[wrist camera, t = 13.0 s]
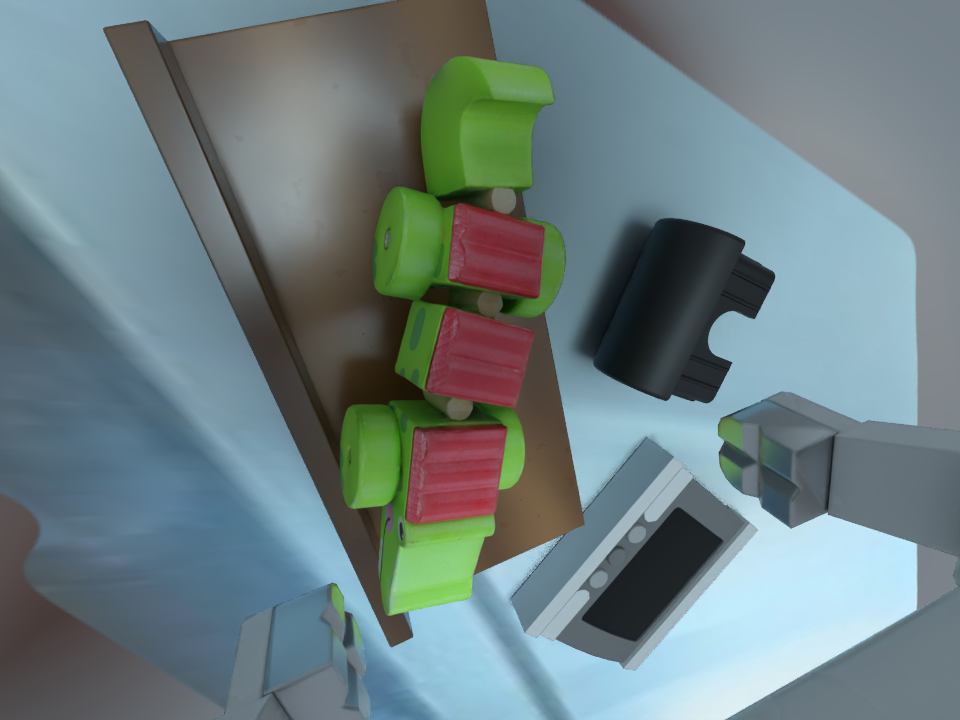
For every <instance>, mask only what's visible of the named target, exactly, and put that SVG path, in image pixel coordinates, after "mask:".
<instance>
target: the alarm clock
mask: <svg viewBox="0 0 960 720" xmlns="http://www.w3.org/2000/svg"><path fill="white" fill-rule="evenodd" d="M683 466H684V465H683V464H682V463H681V462H680V461H678V460H677V459H676V458H675V457H674V456H672V455H671V454H669V453H668V452H667V451H665V450H664V449H662V448H661V447H660V446H658V445H657V444H656V443H654V442H653V441H651V440H650V439H649V438H646V439H645V440H644V442H643V443H642V444H641V445H640V446H639V448H638V449H637V450H636V451H635V452H634V453H633V455H632V456H631V457H630V458H629V459H628V461H627V462H626V463H625V464H624V465H623V467H622V468H621V469H620V470H619V471H618V472H617V474H616V475H615V476H614V477H613V478H612V480H611V481H610V482H609V483H608V484H607V486H606V487H605V488H604V489H603V490H602V491H601V493H600V494H599V495H598V496H597V497H596V499H595V500H594V501H593V502H592V503H591V504H590V506H589V507H588V508H587V509H586V510H585V512H584V513H583V517H584V523H585V525H583V526H581V527H579V528H577V529H575V530H572V531H570V532H568V533H566V534H565V535H564V537H563V538H562V539H561V540H560V541H559V542H558V544H557V545H556V546H555V547H554V548H553V550H552V551H551V552H550V553H549V554H548V555H547V557H546V558H545V559H544V560H543V561H542V563H541V564H540V565H539V566H538V567H537V569H536V570H535V571H534V572H533V573H532V574H531V576H530V577H529V578H528V579H527V580H526V582H525V583H524V584H523V585H522V586H521V588H520V589H519V590H518V591H517V592H516V593H515V595H514V596H513V597H512V598H511V601H512V603H513V605H514V608H515V610H516V613H517V615H518V617H519V620H520V622H521V625H522V627H523V629H524V632H525V633H526V634H528V635H530V636H532V637H534V638H537V637H538V636H539V635H542V636H544V637H546V638H548V639H550V640H551V641H554V640H555V639H557V640H559V641H561V642H563V643H565V644H567V645H569V646H571V647H573V648H575V649H578V650H580V651H583V652H585V653H588V654H590V655H593V656H596V657H600V658H603V659H607V660H611V661H616V662H619V663H620V664H621V666H622V667H623V669H629V670H636V669H637V668H638V667H639V666H640V665H641V664H642V663H643V661H644V660H645V659H646V658H647V657H648V656H649V655H650V653H651V652H652V651H653V650H654V649H655V648H656V647H657V645H658V644H659V643H660V642H661V641H662V640H663V639H664V637H665V636H666V635H667V634H668V633H669V632H670V631H671V629H672V628H673V627H674V626H675V625H676V624H677V623H678V621H679V620H680V619H681V618H682V617H683V616H684V614H685V613H686V612H687V611H688V610H689V609H690V608H691V606H692V605H693V604H694V603H695V602H696V601H697V600H698V598H699V597H700V596H701V595H702V594H703V593H704V592H705V590H706V589H707V588H708V587H709V586H710V585H711V584H712V582H713V581H714V580H715V579H716V578H717V577H718V576H719V574H720V573H721V572H722V571H723V570H724V569H725V567H726V566H727V565H728V564H729V563H730V562H731V561H732V559H733V558H734V557H735V556H736V555H737V554H738V553H739V551H740V550H741V549H742V548H743V547H744V546H745V545H746V543H747V542H748V541H749V540H750V539H751V538H752V537H753V535H754V534H755V533H756V532H757V531H758V529H757V528H755V527H754V526H753V525H752V524H751V523H750V522H749V521H747V520H746V519H745V518H743V517H742V516H741V515H739V514H738V513H737V512H736V511H734V510H733V509H732V508H729V509H728V508H727V507H726V506H725V505H724V504H723V503H721V502H720V501H719V500H718V499H717V498H716V497H714V496H713V495H712V494H711V493H710V492H708V491H707V490H706V489H705V488H704V487H703V486H701V485H700V484H699V483H698V482H697V481H695V480H694V479H693V477H694V476H693V475H692V474H691V473H689V472H688V471H687V470H686V469H685V468H683Z"/></svg>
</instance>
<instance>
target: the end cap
mask: <svg viewBox="0 0 960 720" xmlns="http://www.w3.org/2000/svg"><path fill="white" fill-rule="evenodd" d="M744 246H745V241H744V240H743V239H741V238H739V237H737V236H735V235H733V234H730V233H728V232H725V231H723V230H720V229H717V228H714V227H711V226H708V225H704V224H701V223H697V222H693V221H688V220H683V219H675V218H664V219H660V220H658V221H657V222H656V223H655V225H654V228H653V230H652V232H651V234H650V237H649V239H648V241H647V243H646V245H645V248H644V250H643V252H642V254H641V257H640V259H639V261H638V263H637V265H636V268H635V270H634V272H633V274H632V277H631V279H630V281H629V283H628V286H627V288H626V290H625V292H624V294H623V297H622V299H621V301H620V303H619V306H618V308H617V310H616V312H615V315H614V317H613V319H612V321H611V323H610V326H609V328H608V330H607V332H606V335H605V337H604V339H603V341H602V344H601V346H600V348H599V350H598V352H597V355H596V357H595V359H594V362H593V364H594V366H595V367H596V368H597V369H598V370H599V371H601V372H602V373H604V374H606V375H607V376H609V377H611V378H613V379H615V380H617V381H619V382H621V383H623V384H625V385H627V386H629V387H631V388H634V389H636V390H638V391H641V392H643V393H645V394H648V395H650V396H653V397H656V398H658V399H661V400H664V401H667V400H669V398H670V396H671V394H672V395H675V396H678V397H681V398H684V399H687V400H690V401H695V400H697V401H700V402H703V403H709V402H711V401H712V400H713V399H714V398H715V396H716V394H717V392H718V390H719V388H720V386H721V384H722V382H723V380H724V378H725V376H726V374H727V372H728V371H729V368H730V366H731V364H732V362H730V361H728V360H725V359H723V358H720V357H718V356H715V355H714V354H713V353H712V352H711V351H710V349H709V346H708V335H709V331H710V329H711V327H712V325H713V323H714V322H715V321H716V319H717V318H718V317H719V316H721V315H722V314H724V313H726V312H728V311H736V312H738V313H740V314H742V315H744V316H746V317H749V318H752V319H755V318H756V316H757V314H758V312H759V310H760V308H761V306H762V304H763V302H764V300H765V298H766V296H767V294H768V292H769V290H770V289H771V286H772V284H773V282H774V280H775V274H774V272H773V271H771V270H769V269H767V268H766V267H764V266H762V265H761V264H760V263H758V262H756V261H754V260H753V259H751V258H749V257H747V256H745V255H743V254H741V252H742V250H743V248H744Z"/></svg>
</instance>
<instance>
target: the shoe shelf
mask: <svg viewBox="0 0 960 720" xmlns="http://www.w3.org/2000/svg"><path fill="white" fill-rule="evenodd" d="M103 30H104V33H105V35H106V37H107V40H108V42H109V44H110V46H111V48H112V50H113V52H114V55H115V57H116V59H117V61H118V63H119V65H120V67H121V70H122V72H123V74H124V76H125V78H126V80H127V83H128V85H129V87H130V89H131V91H132V93H133V95H134V98H135V100H136V102H137V104H138V106H139V108H140V110H141V113H142V115H143V117H144V119H145V121H146V123H147V125H148V128H149V130H150V132H151V134H152V136H153V138H154V141H155V143H156V145H157V147H158V149H159V151H160V153H161V156H162V158H163V160H164V162H165V164H166V166H167V168H168V171H169V173H170V175H171V177H172V179H173V181H174V183H175V186H176V188H177V190H178V192H179V194H180V196H181V199H182V201H183V203H184V205H185V207H186V209H187V211H188V214H189V216H190V218H191V220H192V222H193V224H194V226H195V229H196V231H197V233H198V235H199V237H200V239H201V241H202V244H203V246H204V248H205V250H206V252H207V254H208V256H209V259H210V261H211V263H212V265H213V267H214V269H215V272H216V274H217V276H218V278H219V280H220V282H221V284H222V287H223V289H224V291H225V293H226V295H227V297H228V299H229V302H230V304H231V306H232V308H233V310H234V312H235V314H236V317H237V319H238V321H239V323H240V325H241V327H242V330H243V332H244V334H245V336H246V338H247V340H248V342H249V345H250V347H251V349H252V351H253V353H254V355H255V357H256V360H257V362H258V364H259V366H260V368H261V370H262V372H263V375H264V377H265V379H266V381H267V383H268V385H269V388H270V390H271V392H272V394H273V396H274V398H275V400H276V403H277V405H278V407H279V409H280V411H281V413H282V415H283V418H284V420H285V422H286V424H287V426H288V428H289V430H290V433H291V435H292V437H293V439H294V441H295V443H296V445H297V448H298V450H299V452H300V454H301V456H302V458H303V461H304V463H305V465H306V467H307V469H308V471H309V473H310V476H311V478H312V480H313V482H314V484H315V486H316V488H317V491H318V493H319V495H320V497H321V499H322V501H323V503H324V506H325V508H326V510H327V512H328V514H329V516H330V519H331V521H332V523H333V525H334V527H335V529H336V531H337V534H338V536H339V538H340V540H341V542H342V544H343V546H344V549H345V551H346V553H347V555H348V557H349V559H350V561H351V564H352V566H353V568H354V570H355V572H356V574H357V577H358V579H359V581H360V583H361V585H362V587H363V589H364V592H365V594H366V596H367V598H368V600H369V602H370V604H371V607H372V609H373V611H374V613H375V615H376V617H377V619H378V622H379V624H380V626H381V628H382V630H383V632H384V634H385V637H386V639H387V641H388V643H389V645H390V647H393V646H396V645H398V644H400V643H402V642H404V641H406V640H408V639H410V638H412V637H413V632H412V627H411V622H410V618H409V613H408V612H403V613H399V614H394V615H390V616H388V615H386V613H385V610H384V607H383V603H382V594H381V584H380V579H379V574H378V561H379V549H380V536H381V519H382V506H377V507H367V508H357V509H353V508H350V507H348V506H347V504H346V502H345V499H344V496H343V491H342V486H341V478H340V443H341V433H342V426H343V421H344V417H345V414H346V411H347V409H348V408H349V407H350V406H352V405H359V404H372V405H380V404H382V405H387V406H388V404H389V402H390V401H397V400H426V399H425V397H424V394H423V390H422V389H420V388H419V387H418V386H416V385H415V384H413V383H412V382H411V381H409V380H408V379H406V378H405V377H403V376H401V375H399V374H397V373H396V372H395V365H396V362H397V359H398V355H399V351H400V347H401V343H402V339H403V335H404V332H405V328H406V324H407V320H408V315H409V312H410V308H411V305H412V302H413V301H414V300H411V299H407V298H400V297H394V296H388V295H383V294H381V293H379V292H378V291H377V290H376V288H375V285H374V281H373V276H372V253H373V244H374V237H375V231H376V227H377V223H378V219H379V216H380V212H381V209H382V207H383V204H384V201H385V199H386V197H387V196H388V194H389V192H390V191H391V190H392V189H393V188H394V187H398V186H401V187H406V188H410V189H413V190H416V191H419V192H423V193H426V194H428V192H427V186H426V180H425V173H424V166H423V158H422V149H421V118H422V110H423V103H424V98H425V94H426V90H427V87H428V84H429V83H430V81H431V79H432V78H433V77H434V75H435V74H436V73H437V72H438V71H439V69H440V68H441V67H442V66H443V65H444V64H445V63H446V62H447V61H449V60H450V59H452V58H454V57H458V56H469V57H475V58H482V59H488V60H494V61H497V60H496V54H495V49H494V44H493V39H492V33H491V28H490V23H489V18H488V12H487V7H486V2H485V0H396V1H390V2H385V3H379V4H374V5H368V6H362V7H357V8H351V9H346V10H340V11H335V12H329V13H323V14H318V15H312V16H307V17H301V18H296V19H290V20H284V21H279V22H273V23H268V24H262V25H257V26H251V27H245V28H240V29H234V30H229V31H223V32H217V33H212V34H206V35H201V36H195V37H190V38H184V39H178V40H173V41H167V40H166V39H165V38H164V37H163V36H162V35H161V34H160V33H159V32H158V31H157V30H156V29H155V28H154V27H153V26H152V25H151V24H150V23H149V22H148V21H146V20H144V21H138V22H132V23H126V24H120V25H115V26H109V27H105V28H103ZM515 196H516V205H515V208H514V209H513V211H512V212H510V213H509V216H510V217H512V218H518V217H526V212H525V207H524V202H523V197H522V192H521V193H519V194H516V195H515ZM439 202H440V204H441V206H442V207H443V208H447V207H450V206H452V205H457V204H459V203H460V202H459V201H439ZM449 292H450V289H449V288H438V289H435V290H434V289H433V288H431V287H430V288H429V289H428V290H427V292H426V293H425V295H423V296H422V297H421V298H420V300H423V301H427V302H430V303H434V304H441V305H446V306H447V305H448V296H449ZM494 318H495V319H496V320H499V321H503V322H506V323H510V324H514V325H517V326H521V327H524V328H528V329H531V330H533V331H535V335H534V339H533V343H532V346H531V350H530V354H529V358H528V362H527V366H526V370H525V373H524V377H523V381H522V385H521V389H520V392H519V396H518V400H517V404H516V406H515V407H514V408H512V409H513V410H514V411H515V413H516V415H517V417H518V418H519V421H520V424H521V426H522V431H523V435H524V442H525V461H524V467H523V471H522V473H521V476H520V478H519V480H518V481H517V482H516V483H515V484H514V485H513V486H512V487H510V488H507V489H502V490H499V491H498V499H497V507H496V511H495V513H494V518H495V531H494V534H493V535H492V536H488V537H485V538H484V541H483V544H482V547H481V550H480V554H479V557H478V561H477V564H476V567H475V570H474V574H473V575H475V574H477V573H479V572H482V571H484V570H486V569H488V568H490V567H493V566H495V565H497V564H499V563H502V562H504V561H506V560H508V559H510V558H513V557H515V556H517V555H519V554H521V553H524V552H526V551H528V550H530V549H532V548H535V547H537V546H539V545H541V544H544V543H546V542H548V541H550V540H552V539H555V538H557V537H559V536H561V535H563V534H566V533H568V532H570V531H572V530H575V529H577V528H579V527H581V526H583V525H585V523H584V517H583V512H582V507H581V502H580V496H579V491H578V486H577V481H576V475H575V470H574V465H573V460H572V454H571V449H570V444H569V438H568V433H567V428H566V423H565V417H564V412H563V407H562V402H561V396H560V391H559V386H558V381H557V375H556V370H555V365H554V360H553V354H552V349H551V344H550V339H549V333H548V328H547V323H546V317H545V312H543V313H542V314H540V315H538V316H536V317H531V318H529V317H519V316H511V315H505V314H502V313H500V312H499V313H498V314H497V315H496V316H494ZM473 402H475V401H473Z"/></svg>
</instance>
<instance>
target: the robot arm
mask: <svg viewBox="0 0 960 720" xmlns="http://www.w3.org/2000/svg"><path fill="white" fill-rule="evenodd" d="M718 436H719V437H720V438H721V439H723V440H724V443H723V445H722V447H721V449H720V451H719V462H720V467H721V469H722V471H723V473H724V475H725V477H726V479H727V480H728V481H729V482H730V483H731V485H732V486H733V487H735V488H736V489H737V490H739V491H740V492H741V493H743V494H745V495H749V496H753V497H758V498H759V500H760V503H761V507H762V508H763V509H765V510H766V511H767V512H769V513H770V514H772V515H773V516H774V517H776V518H777V519H779V520H780V521H781V522H783V523H784V524H786V525H787V526H788V527H790V528H791V529H792V528H794V527H796V526H798V525H800V524H803V523H805V522H807V521H809V520H811V519H814V518H816V517H818V516H820V515H822V514H825V513H827V512H828V515H831V516H834V517H837V518H840V519H843V520H846V521H849V522H852V523H855V524H858V525H861V526H865V527H868V528H871V529H874V530H877V531H880V532H883V533H886V534H889V535H892V536H895V537H898V538H901V539H905V540H908V541H911V542H914V543H917V544H920V545H923V546H926V547H929V548H932V549H935V550H939V551H941V552H945V553H948V554H951V555H954V556H957V557H958V558H957V562H956V566H955V570H954V574H953V577H954V580H955V583H956V584H957V585H958V587H956V588H955V589H953V590H951V591H949V592H948V593H946V594H945V595H942V596H941V597H939V598H937V599H935V600H934V601H932V602H930V603H928V604H927V605H925V606H923V607H921V608H920V609H918V610H916V611H914V612H913V613H911V614H909V615H907V616H906V617H904V618H902V619H900V620H899V621H897V622H895V623H893V624H892V625H890V626H888V627H886V628H885V629H883V630H881V631H879V632H878V633H876V634H874V635H872V636H871V637H869V638H867V639H865V640H864V641H862V642H860V643H858V644H857V645H855V646H853V647H851V648H850V649H848V650H846V651H844V652H843V653H841V654H839V655H837V656H836V657H834V658H832V659H830V660H829V661H827V662H825V663H823V664H822V665H820V666H818V667H816V668H815V669H813V670H811V671H809V672H808V673H806V674H804V675H802V676H801V677H799V678H797V679H795V680H794V681H792V682H790V683H788V684H787V685H785V686H783V687H781V688H780V689H778V690H776V691H774V692H773V693H771V694H769V695H767V696H766V697H764V698H762V699H760V700H759V701H757V702H755V703H753V704H752V705H750V706H748V707H746V708H745V709H743V710H741V711H740V712H738V713H736V714H734V715H733V716H731V717H729V718H727V719H726V720H960V431H957V430H948V429H940V428H939V429H938V428H931V427H922V426H913V425H904V424H895V423H886V422H877V421H869V420H868V421H866V422H863V423H861V422H858V421H856V420H854V419H851V418H849V417H847V416H844V415H842V414H840V413H837V412H835V411H833V410H830V409H828V408H826V407H823V406H821V405H819V404H816V403H814V402H812V401H809V400H807V399H805V398H802V397H800V396H798V395H795V394H793V393H791V392H779V393H777V394H775V395H772V396H770V397H768V398H766V399H763V400H761V401H760V402H757V403H755V404H753V405H751V406H748V407H746V408H744V409H741V410H739V411H737V412H734V413H732V414H730V415H727V416H725V417H723V418H721V420H720V422H719V424H718ZM366 670H367V665H366V656H365V650H364V646H363V641H362V637H361V634H360V631H359V628H358V625H357V623H356V621H355V619H354V617H353V615H352V614H351V613H348V612H346V611H344V597H343V595H342V593H341V591H340V590H339V588H338V586H337V584H335V583H331V584H328V585H326V586H323V587H321V588H318V589H315V590H313V591H310V592H308V593H305V594H303V595H300V596H298V597H295V598H293V599H290V600H288V601H285V602H283V603H280V604H278V605H276V606H275V607H272V608H269V609H267V610H264V611H262V612H259V613H257V614H254V615H252V616H249V617H246V619H245V620H244V622H243V624H242V625H241V628H240V633H239V639H238V644H237V649H236V654H235V660H234V665H233V670H232V675H231V681H230V686H229V691H228V696H227V702H226V707H225V712H224V715H223V716H220V717H218V718H216V719H214V720H371V709H370V697H369V693H368V691H367V689H366V687H365V685H364V684H363V682H362V679H363V677H364V674H365V672H366Z"/></svg>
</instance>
